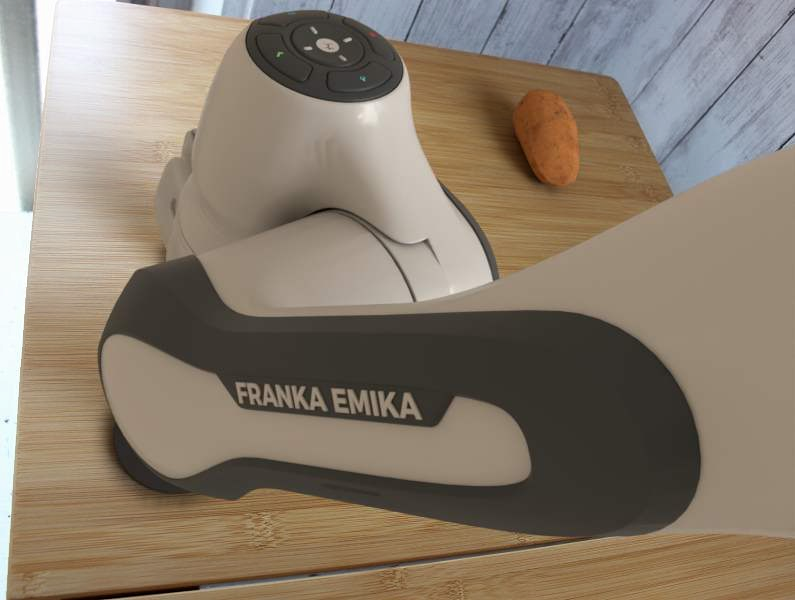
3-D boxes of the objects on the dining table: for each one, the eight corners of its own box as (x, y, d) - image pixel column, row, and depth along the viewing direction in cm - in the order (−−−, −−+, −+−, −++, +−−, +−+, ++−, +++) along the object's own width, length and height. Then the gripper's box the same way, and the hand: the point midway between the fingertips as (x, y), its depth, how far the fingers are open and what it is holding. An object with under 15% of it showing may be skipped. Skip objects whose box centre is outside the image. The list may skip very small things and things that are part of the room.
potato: (539, 117, 111) (574, 83, 106) (567, 199, 106) (605, 168, 101) (497, 108, 107) (531, 73, 102) (523, 193, 102) (561, 161, 97)
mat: (249, 475, 71) (251, 473, 71) (131, 509, 66) (131, 507, 66) (214, 372, 75) (215, 369, 74) (99, 397, 70) (100, 394, 69)
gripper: (144, 115, 50) (122, 244, 61) (251, 419, 43) (204, 505, 54) (243, 110, 54) (205, 233, 64) (359, 392, 46) (294, 478, 57)
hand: (205, 358), depth 59 cm, fingers closed on candy box, 4 cm apart
